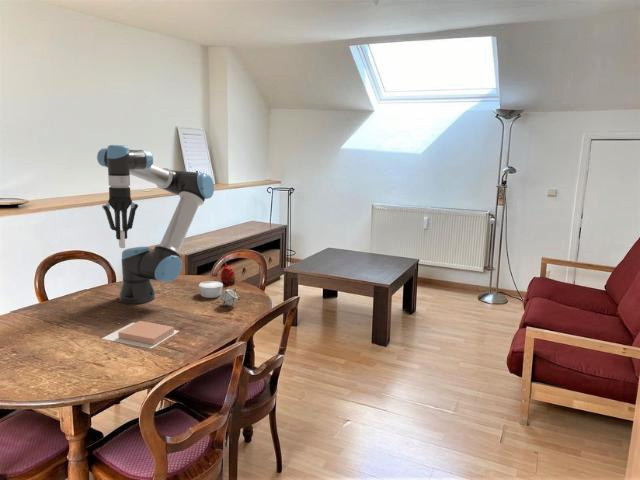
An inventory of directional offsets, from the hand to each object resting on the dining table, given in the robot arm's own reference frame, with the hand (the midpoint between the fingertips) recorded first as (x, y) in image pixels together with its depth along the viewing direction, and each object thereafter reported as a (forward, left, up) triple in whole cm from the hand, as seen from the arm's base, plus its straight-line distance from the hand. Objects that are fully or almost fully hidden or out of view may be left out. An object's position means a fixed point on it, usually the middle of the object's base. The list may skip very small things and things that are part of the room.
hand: (122, 247), depth 191 cm
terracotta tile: (+16, -3, -28) cm, 32 cm away
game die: (+8, +42, -30) cm, 52 cm away
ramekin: (-10, +42, -30) cm, 52 cm away
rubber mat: (+20, 0, -29) cm, 36 cm away
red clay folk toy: (-22, +57, -30) cm, 68 cm away
